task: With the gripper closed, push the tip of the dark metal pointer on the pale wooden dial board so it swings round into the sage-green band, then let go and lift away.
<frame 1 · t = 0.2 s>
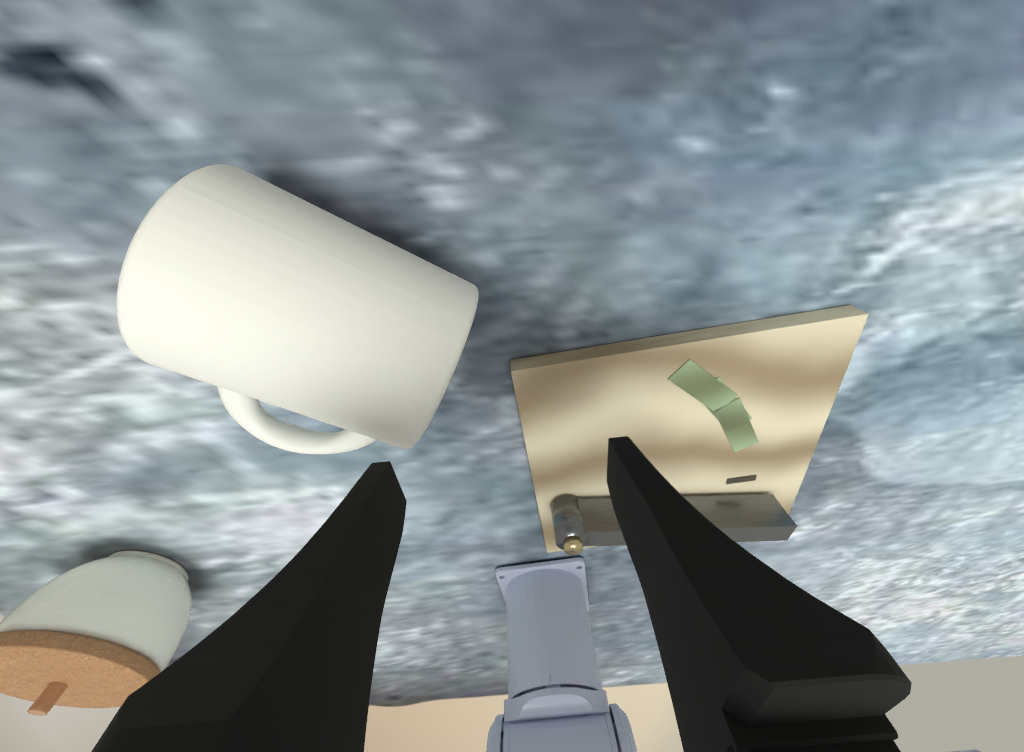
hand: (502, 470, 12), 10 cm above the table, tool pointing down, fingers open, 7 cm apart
mug: (351, 318, 20), on the table
lidded jar: (150, 568, 32), on the table
dial board: (665, 446, 26), on the table
pointer: (669, 523, 26), point 3 cm above the table, hinge at -10.0°
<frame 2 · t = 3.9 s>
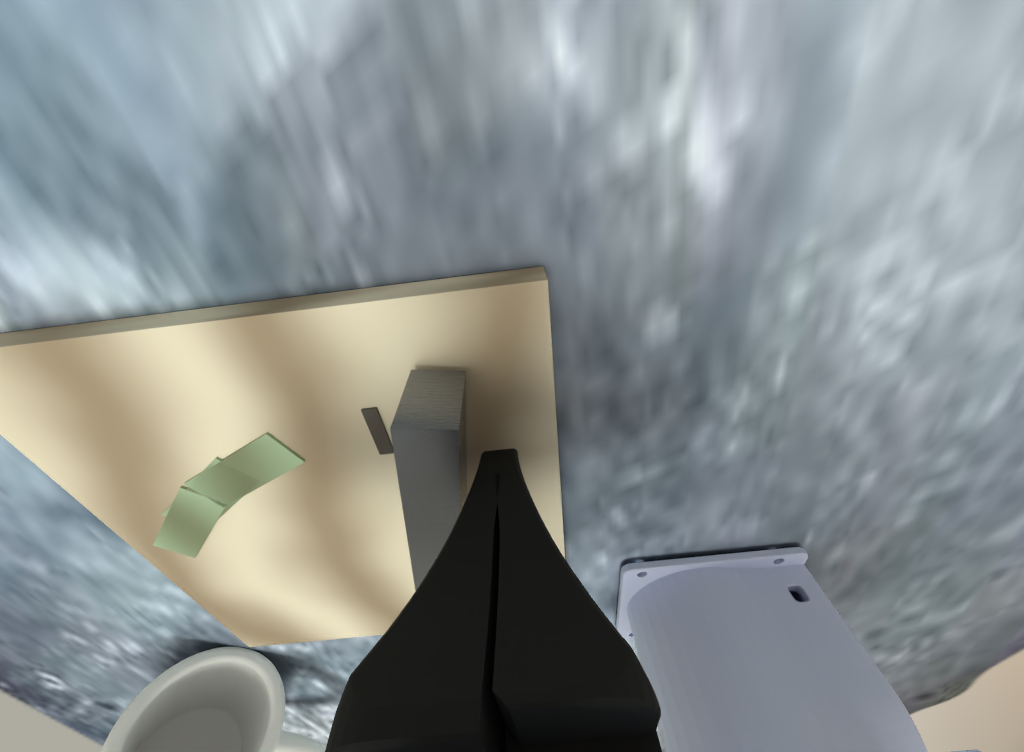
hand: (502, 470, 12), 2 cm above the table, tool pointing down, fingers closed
mug: (262, 675, 27), on the table
dial board: (354, 504, 16), on the table
pointer: (443, 573, 14), point 3 cm above the table, hinge at -9.9°, touching gripper
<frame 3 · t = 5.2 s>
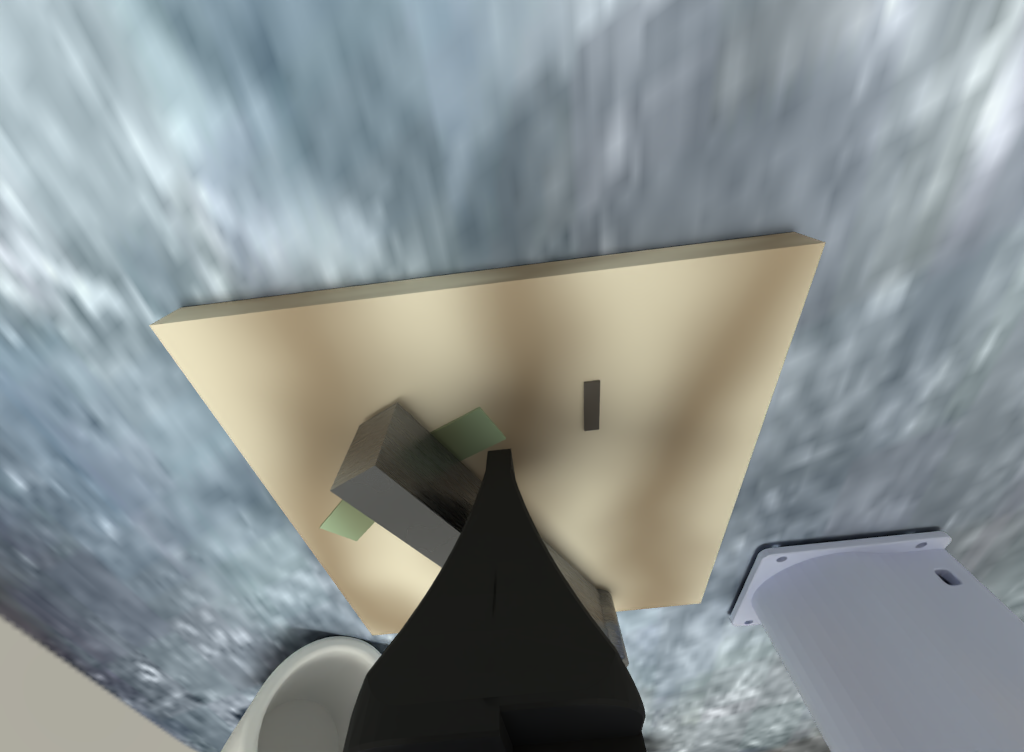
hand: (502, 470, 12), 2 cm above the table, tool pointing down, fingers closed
mug: (358, 666, 26), on the table
dial board: (515, 486, 16), on the table
pointer: (519, 574, 14), point 3 cm above the table, hinge at 26.9°, touching gripper
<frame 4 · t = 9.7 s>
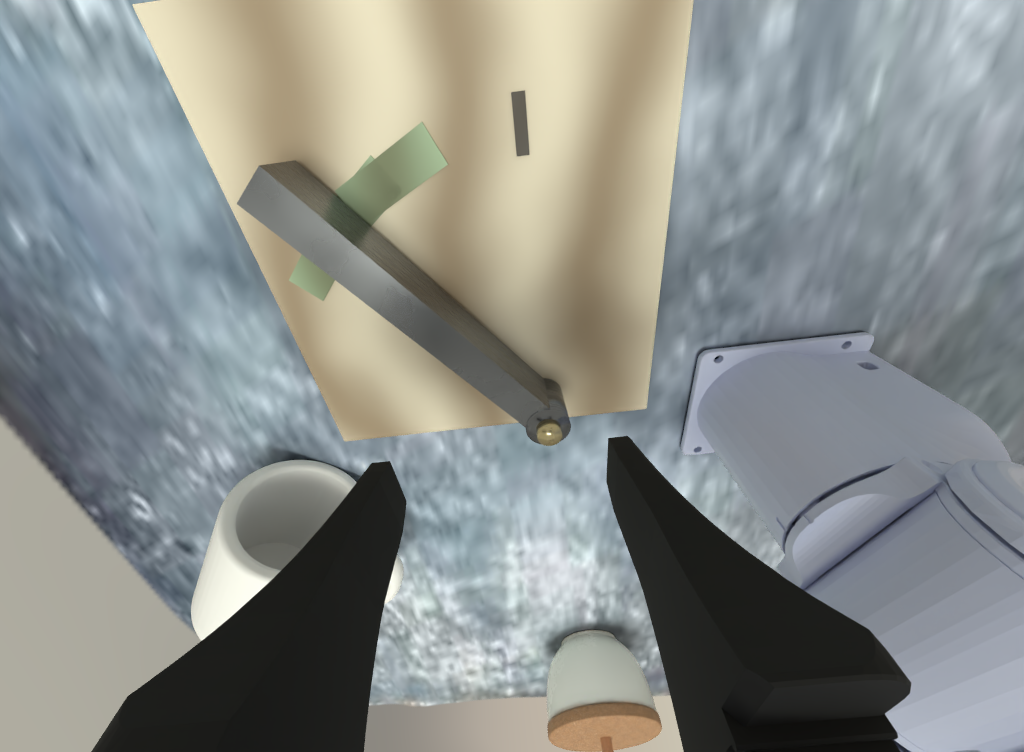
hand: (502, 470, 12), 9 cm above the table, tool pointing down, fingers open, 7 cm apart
mug: (336, 510, 28), on the table
lidded jar: (587, 639, 42), on the table
dial board: (466, 258, 18), on the table
pointer: (441, 328, 16), point 3 cm above the table, hinge at 38.0°
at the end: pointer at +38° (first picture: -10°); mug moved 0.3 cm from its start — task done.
